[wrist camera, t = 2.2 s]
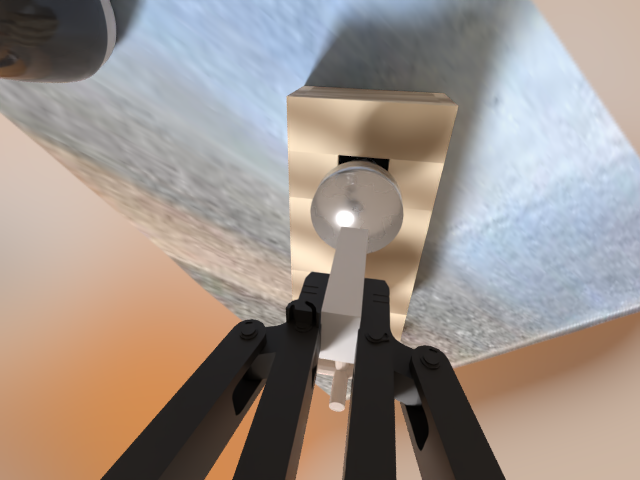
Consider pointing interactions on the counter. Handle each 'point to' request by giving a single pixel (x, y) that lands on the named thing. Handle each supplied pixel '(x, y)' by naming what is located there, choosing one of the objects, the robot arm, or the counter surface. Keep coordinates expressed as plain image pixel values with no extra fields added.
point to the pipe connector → (336, 380)
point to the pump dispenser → (55, 39)
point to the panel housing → (376, 142)
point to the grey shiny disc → (358, 203)
